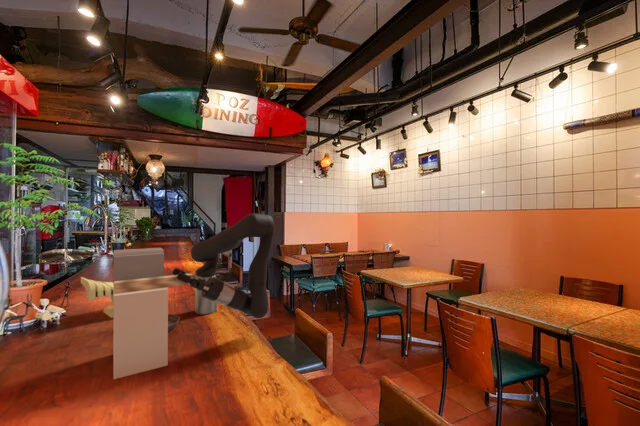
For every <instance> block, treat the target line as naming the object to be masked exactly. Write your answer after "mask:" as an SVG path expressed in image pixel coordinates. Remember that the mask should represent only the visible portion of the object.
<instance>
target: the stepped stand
mask: <svg viewBox="0 0 640 426" xmlns="http://www.w3.org/2000/svg"><path fill="white" fill-rule="evenodd" d="M161 276H165V253H164V249H163V248H162V247H149V248H135V249H134V248H132V249H131V248H130V249H114V250H113V282H114V281H122V280H132V279H141V278H151V277H161ZM168 315H169V287H163V288H155V289H147V290H139V291H131V292H123V293H115V294H114V309H113V318H112V319H113V320H112V321H113V323H112V324H113V331H112V332H113V336H112V337H113V338H112V339H113V340H112V341H113V342H112V345H113V346H112V348H113V350H112V351H113V352H112V354H113V356H112V357H113V360H112V361H113V365H112V368H113V380H116V379H117V380H118V379H120V378H123V377H124V378H125V377H129V376H132V375H136V374H140V373H143V372H144V373H145V372H147V371H151V370H155V369H160V368H163V367H166V366H169V365H168V364H169V363H168V361H169V360H168V359H169V358H168V357H169V356H168V355H169V354H168V353H169V351H168V350H169V349H168V348H169V347H168V346H169V342H168V341H169V331H168Z"/></svg>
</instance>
